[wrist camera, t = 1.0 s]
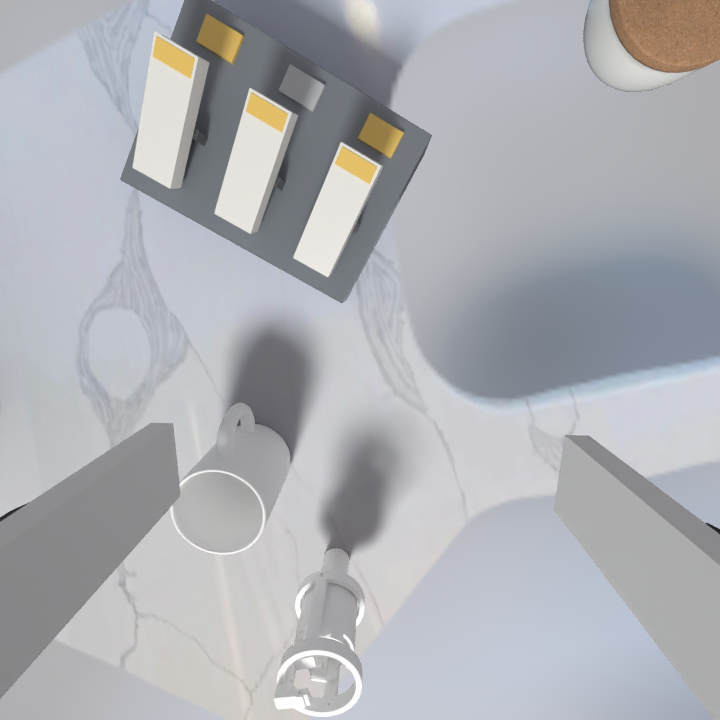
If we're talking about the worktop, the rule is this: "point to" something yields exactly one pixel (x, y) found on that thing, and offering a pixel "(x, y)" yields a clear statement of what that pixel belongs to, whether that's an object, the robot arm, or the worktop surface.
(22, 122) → the worktop surface
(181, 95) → the switch
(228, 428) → the mug
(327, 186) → the switch
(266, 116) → the switch
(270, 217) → the switch unit
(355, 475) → the worktop surface
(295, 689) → the white plastic fitting
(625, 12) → the lidded jar
